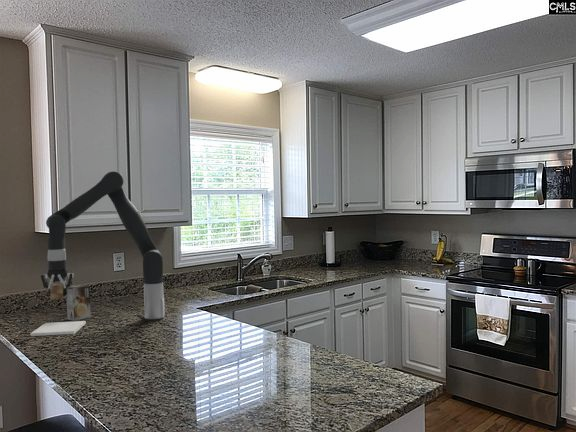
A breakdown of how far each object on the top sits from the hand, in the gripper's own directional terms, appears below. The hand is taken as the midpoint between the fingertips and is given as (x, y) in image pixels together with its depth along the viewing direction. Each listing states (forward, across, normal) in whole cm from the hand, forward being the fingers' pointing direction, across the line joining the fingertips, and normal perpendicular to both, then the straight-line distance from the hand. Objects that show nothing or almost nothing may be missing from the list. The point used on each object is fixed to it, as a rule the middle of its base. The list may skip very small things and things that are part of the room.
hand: (58, 296), depth 217 cm
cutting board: (+15, 0, 0) cm, 15 cm away
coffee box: (+15, -3, -20) cm, 25 cm away
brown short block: (+1, 0, 0) cm, 1 cm away
